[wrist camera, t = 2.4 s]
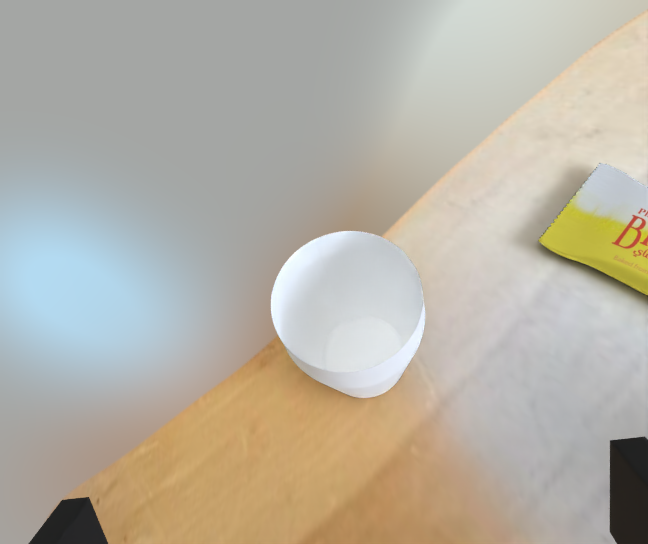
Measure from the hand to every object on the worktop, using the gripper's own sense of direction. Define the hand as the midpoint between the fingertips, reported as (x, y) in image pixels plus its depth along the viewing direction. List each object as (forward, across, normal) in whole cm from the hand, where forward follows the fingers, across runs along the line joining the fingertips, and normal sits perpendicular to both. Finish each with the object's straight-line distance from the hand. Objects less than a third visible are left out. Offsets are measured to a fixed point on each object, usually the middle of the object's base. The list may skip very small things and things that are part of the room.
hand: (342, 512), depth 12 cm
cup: (+24, 0, -9) cm, 25 cm away
